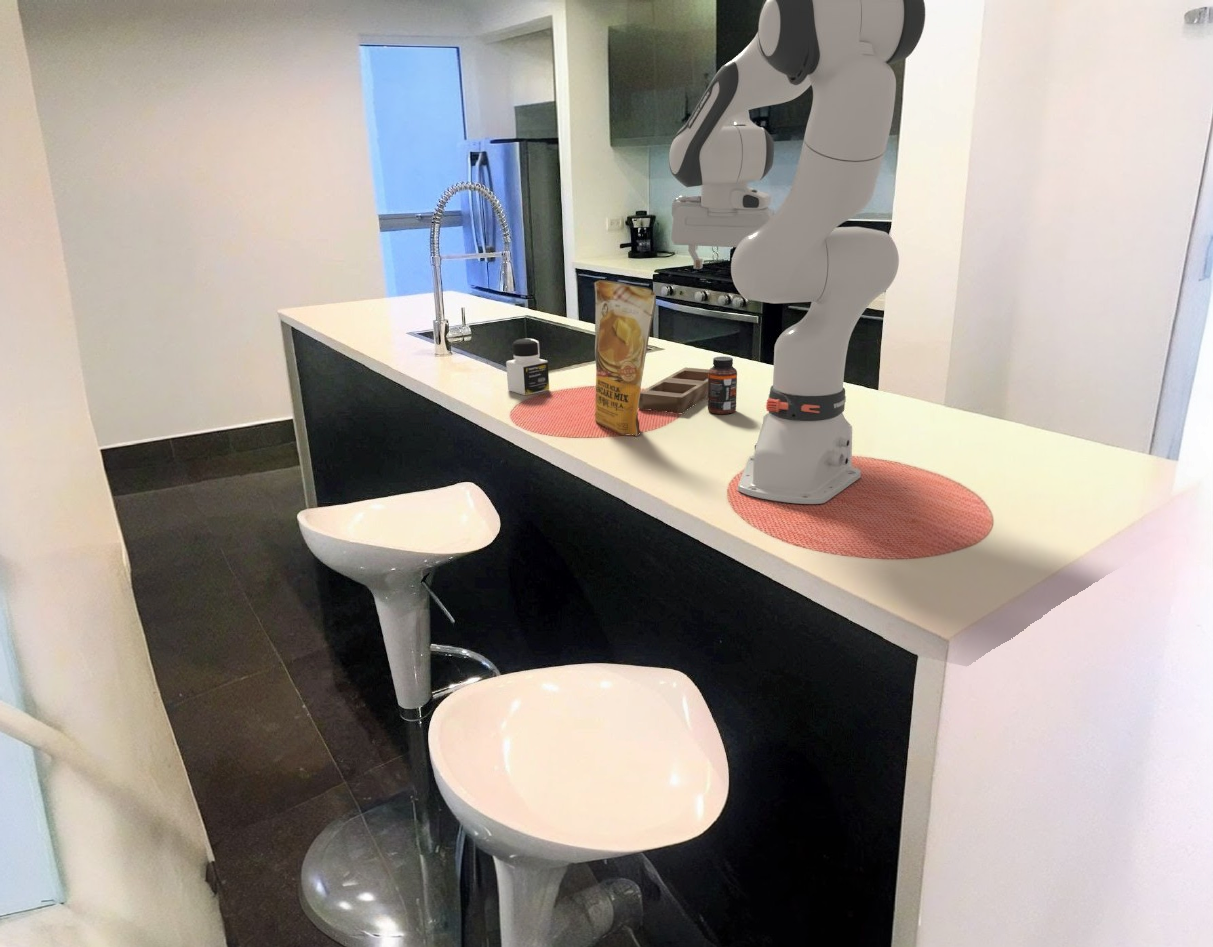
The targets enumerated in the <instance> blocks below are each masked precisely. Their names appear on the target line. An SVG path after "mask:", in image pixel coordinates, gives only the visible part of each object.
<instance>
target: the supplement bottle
mask: <svg viewBox="0 0 1213 947" xmlns="http://www.w3.org/2000/svg"><path fill="white" fill-rule="evenodd" d="M733 359H734V358H733V357H731V356H716V357H713V359H712V365H713V366H712V367H710V368H709V369H710V370H709V372H708V397H707V411H708V412H710V413H711V414H715V413H716V414H715V415H730V414H733V413H735V412H736V410H737V392H738V391H737V388H738V370H737V368H735V367H734V366H733V365H734V360H733ZM729 413H730V414H729Z"/></svg>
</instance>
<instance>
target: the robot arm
mask: <svg viewBox="0 0 1213 947" xmlns="http://www.w3.org/2000/svg"><path fill="white" fill-rule="evenodd" d="M760 8H761V9H760V11H759V16H758V30H757V32H756V34H755V36H754V38H753V39H751V41H750V43H749V44H747V46H746V47H745V48H744V49H743V50H742V51H741V52H740V53H738V55H736V56H735V57H734V58H732V60H730V61H728V62H727V63H726V64H724V65H722V66H721V67H720V69H719V70H718V71H717V72H716V74H715V75H714V77H713V78H712V80H711V82H710V83H709V85H708V86H707V88H706V90H705V91H704V93H703V94H702V96H701V98H700V100H698V103H697V105H696V107H695V108H694V110H693V111H692V112H691V114H690V116H689V118H688V120H687V121H686V123H685V124H684V125H683V126H682V127H681V128H680V129H679V130H678V131H677V133H676V134H675V135H674V137H673V138H672V140H671V144H670V146H669V154H668V155H669V156H668V162H669V169H670V172H671V174H672V175H673V177H674V178H675V179H676V180H677V181H678V182H680V184H682V185H683V186H685V187H686V188H691V187H700V188H701V189H700V195H692V196H691V195H689V196H686V195H680V196H679V197H678V198H676V199H674V200H673V202H672V203H671V216H672V225H671V233H670V240H671V242H672V243H673V245H675V246H687V247H688V253H689V255H690V257H691V259H692V260H693V269H697V270H698V269H700V270H701V269H702V268H703V266H704V265H703V262H704V258H700V257H699V256H698V253H697V250H698V248H699V247H717V248H719V247H720V248H721V247H722V248H735V250H734V252H733V254H732V258H731V263H730V274H731V278H732V282H733V285H734V286H735V288H736V290H737V291H738V293H739V294H740V295H741V297H743V299H745V300H749V301H750V300H751V301H754V302H755V301H756V302H763V303H769V304H790V303H791V304H792V303H809V302H811V303H810V307H809V309H808V311H807V313H806V314H805V315H804V316H803V318H801V320H799V321H798V322H797V323H795V324H793V325H791V326H790V327H788V328H786V329H785V330H784V331H783V332H782V333H781V334H780V335H779V337H777V339H776V342H775V344H774V350H773V352H774V354H773V355H774V356H773V375H772V376H773V377H772V385H771V386H770V389H769V394H768V398H767V400H766V404H765V409H766V411H767V412H768V413H766V414H764V415H763V417H762V424H761V428H760V431H759V435H758V438H757V441H756V443H755V445H754V452H753V455H750V456H749V457H748V458H747V461H746V464H745V467H744V469H743V471H742V474H741V476H740V478H739V481H738V485H737V491H738V492H740V493H742V494H744V495H747V496H751V497H755V498H758V499H763V500H768V501H773V502H782V503H788V504H790V503H791V504H803V505H818V504H821V505H822V504H824V503H825V504H826V503H827V502H828V501H830V500H831V499H832V498H833V497H835V496H836V495H838V494H839V493H841V492H842V491H844V490H845V489H846V488H847V487H849V486H851V485H852V484H853V483H854V482H856V481H858V480H859V479H861V477H862V476H861V475H862V471H861V470H860V469H859V468H857V467H855V466H852V458H853V456H852V454H853V425H852V424H851V423H850V422H849V421H848V420H847V419H846V417H845V414H844V413H843V412H844V411H845V408H846V407H845V406H846V397H847V396H846V389H845V388H844V379H845V378H844V377H845V368H846V360H847V354H848V347H849V344H850V343H849V341H850V339H851V336H852V333H853V331H854V330H855V326H856V325H857V323H858V321H859V319H860V318H861V316H862V314H863V313H864V312H865V310H866V309H867V308H868V307H869V306H870V305H871V303H872V302H874V301H875V300H876V299H877V298H878V297H879V296H880V295H881V294H884V293H885V292H886V291H887V290H888V289H889V288H890V286H891V285H892V283H893V282H894V280H895V279H896V277H897V274H898V270H899V264H900V258H899V250H898V248H897V244H896V243H895V241H894V239H893V238H892V237H891V236H890V234H889V233H888V232H886V231H883V230H880V229H879V230H878V229H874V228H867V227H862V226H841V227H840V225H842V224H843V223H845V222H847V221H849V220H851V219H852V218H854V217H856V216H857V215H859V214H860V213H862V211H863V210H864V209H865V208H866V207H867V206H868V205H869V203H870V202H871V199H872V197H873V195H874V191H875V187H876V184H877V179H878V177H879V174H880V170H881V166H882V164H883V160H884V156H885V152H886V149H887V145H888V141H889V136H890V133H891V127H892V122H893V118H894V117H893V116H894V109H895V103H896V91H897V89H896V88H897V80H896V75H895V72H894V70H893V68H892V67H891V66H890V65H893V64H895V63H899V62H901V61H904V60H905V59H907V58H908V57H909V56H910V55H912V53H913V52H914V50H915V49H916V48H917V46H918V43H919V42H920V39H921V38H922V35H923V32H924V28H925V22H926V4H925V0H763V2H762V5H761V7H760ZM810 86H811V87H812V104H811V110H810V113H809V116H808V119H807V124H806V128H805V133H804V135H803V136H804V137H803V140H802V141H803V142H802V147H801V150H800V156H799V159H798V163H797V167H796V170H795V173H794V178H793V181H792V184H791V186H790V189H789V191H788V193H787V195H786V197H785V198H784V200H783V202H782V203H781V204H780V206H779V207H778V209H777V210H776V211H775V212H773V211H772V209H771V208H770V207H769V206H770V205H771V201H772V196H771V194H769V193H766V192H764V191H761V190H758V189H756V188H752V187H749V185H748V183H755V182H757V181H761V180H763V179H764V178H765V176H766V175H768V174H769V172H770V170H771V169H772V168H773V165H774V156H775V142H774V139H773V137H772V135H771V134H770V133H769V132H768V131H767V129H765V128H764V127H762V126H761V127H760V126H758V125H757V124H755V123H754V122H753V121H752V120H751V119H750V113H749V112H750V110H753V109H757V108H764V107H768V106H773V105H780V104H783V103H786V102H790V101H792V100H794V99H796V98H798V97H799V96H801V95H802V94H804V92H806V91H807V90H808V89H809V87H810Z"/></svg>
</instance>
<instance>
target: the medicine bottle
mask: <svg viewBox="0 0 1213 947" xmlns="http://www.w3.org/2000/svg"><path fill="white" fill-rule="evenodd" d="M512 352H513V354H512V355H513V359H511V360H507V361H506V362H505V365H506V366H505V367H506V379H507V390H508V391H509V392H512V393H517V394H520V395H522V396H529V395H534V394H537V393H543V392H547V391H549V390H550V378H549V375H550V374H549V361H548V360H547V359H546V360H545V359H542V358H540V357H541V356H540V342H539V340H536V339H534V338H519V339H517V340H515V341H513V343H512Z"/></svg>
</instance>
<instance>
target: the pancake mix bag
mask: <svg viewBox="0 0 1213 947" xmlns="http://www.w3.org/2000/svg"><path fill="white" fill-rule="evenodd" d="M593 286H594V299H595V300H594V303H595V304H594V310H595V316H594V317H595V318H594V319H595V320H594V323H595V324H594V333H595V335H594V336H595V337H594V338H595V339H594V356H595V372H596V374H595V395H594V396H595V398H594V399H595V400H594V401H595V404H594V405H595V410H594V411H595V412H594V418H595V419H594V421H595V422H596V423H597V424H599V425H601V426H603V427H604V426H605V428H607V429H608V428H609V429H608V430H611V431H613V430H614V431H613V432H615V433H616V432H618V433H617V434H619V433H620V434H619V435H621V434H624V435H623V436H627V435H626V434H633V435H632V436H634V435H635V436H636V437H639V435H640V434H641V433H640V432H641V429H640V421H639V418H638V415H639V414H638V412H639V411H638V410H639V409H638V404H639V398H640V392H641V389H642V388H641V387H642V381H643V375H644V368H645V363H646V356H647V351H648V347H649V340H650V335H651V327H652V322H653V319H654V315H655V311H656V306H657V305H656V304H657V297H656V296H657V294H655V292H654V291H653V289H651V288H648V287H644V286H636V285H633V284H632V285H631V284H627V283H625V282H624V283H623V282H619V281H612V280H603V279H602V280H601V279H599V280H597V281H595V282H593ZM639 433H640V434H639ZM638 434H639V435H638ZM635 436H634V437H635Z"/></svg>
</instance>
